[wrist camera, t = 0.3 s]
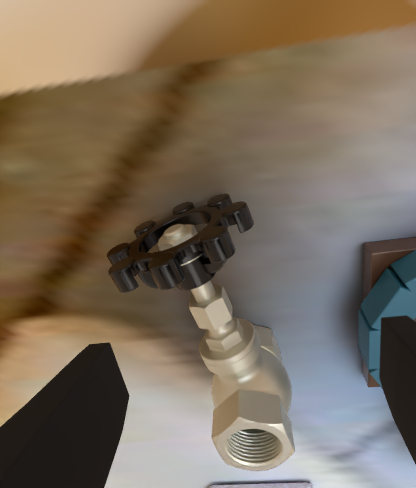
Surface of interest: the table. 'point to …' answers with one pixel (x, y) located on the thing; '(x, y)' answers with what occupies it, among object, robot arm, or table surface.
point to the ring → (386, 308)
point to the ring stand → (381, 272)
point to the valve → (218, 328)
